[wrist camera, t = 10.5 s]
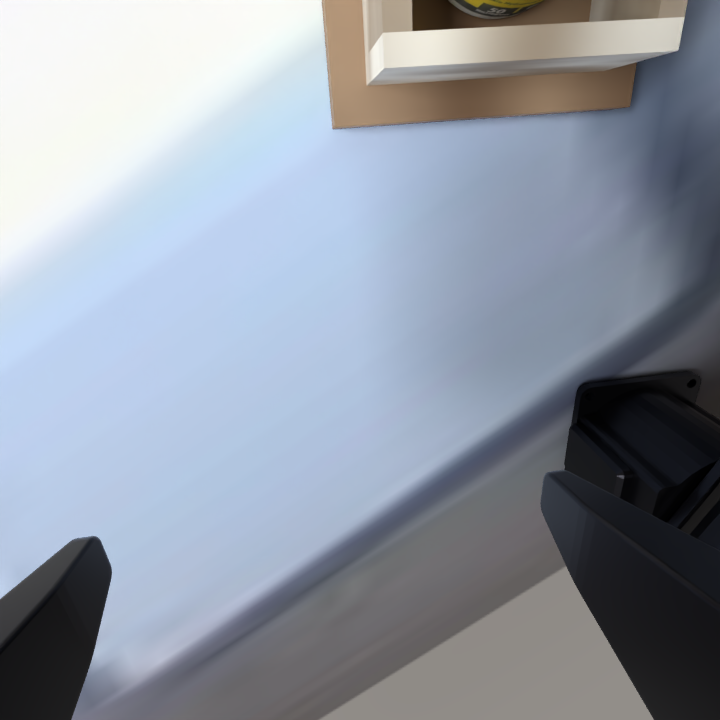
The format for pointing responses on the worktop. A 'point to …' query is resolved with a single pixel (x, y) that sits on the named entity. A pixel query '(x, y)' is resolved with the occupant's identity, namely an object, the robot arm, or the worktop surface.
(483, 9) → the supplement bottle
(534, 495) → the worktop surface
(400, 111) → the socket board
